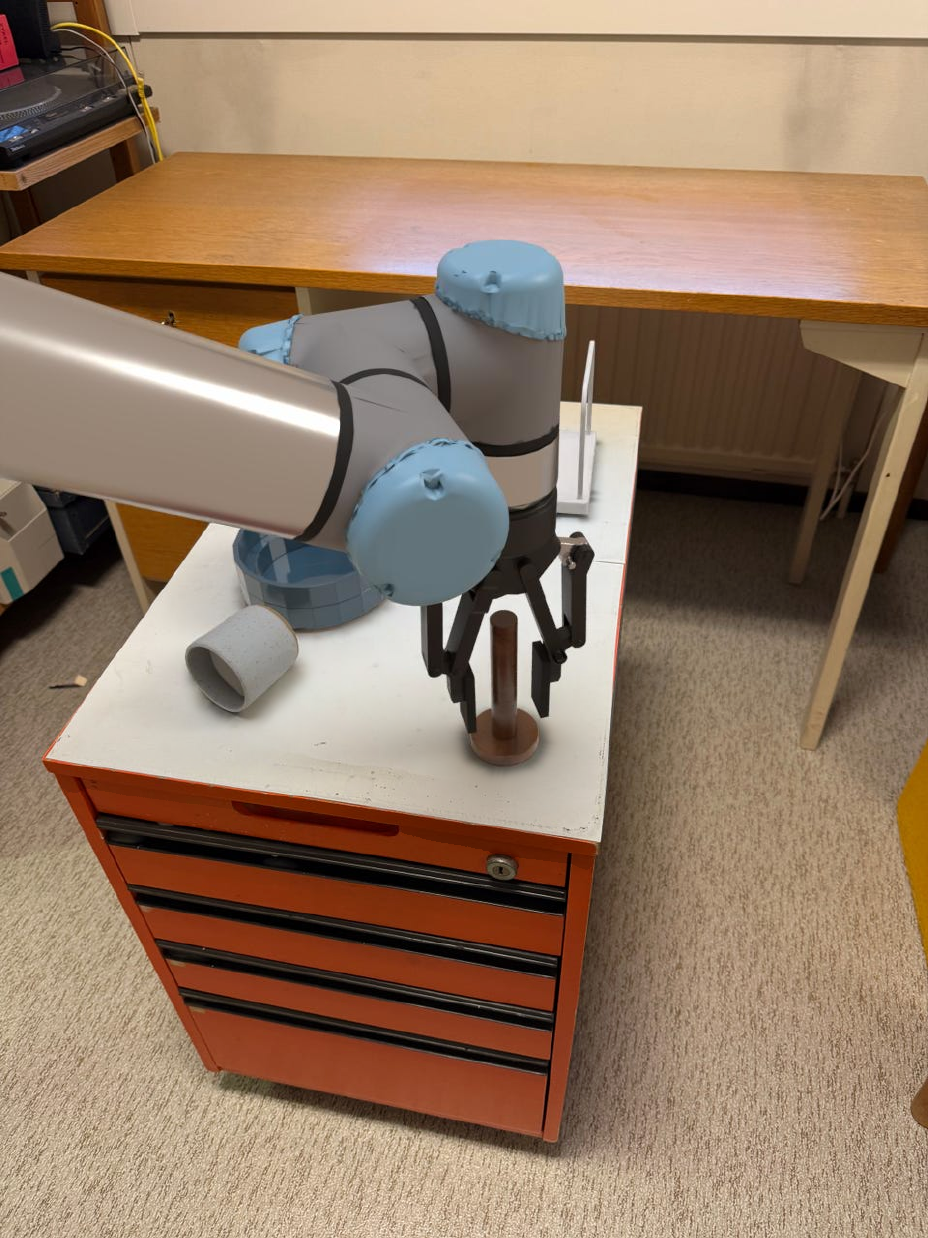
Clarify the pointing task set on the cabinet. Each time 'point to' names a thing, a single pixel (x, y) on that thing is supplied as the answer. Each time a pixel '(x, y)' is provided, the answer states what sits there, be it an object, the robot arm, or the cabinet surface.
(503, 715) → the wooden post on disc
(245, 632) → the ceramic mug
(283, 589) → the bowl
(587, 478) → the file sorter
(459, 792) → the cabinet surface
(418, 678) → the cabinet surface
